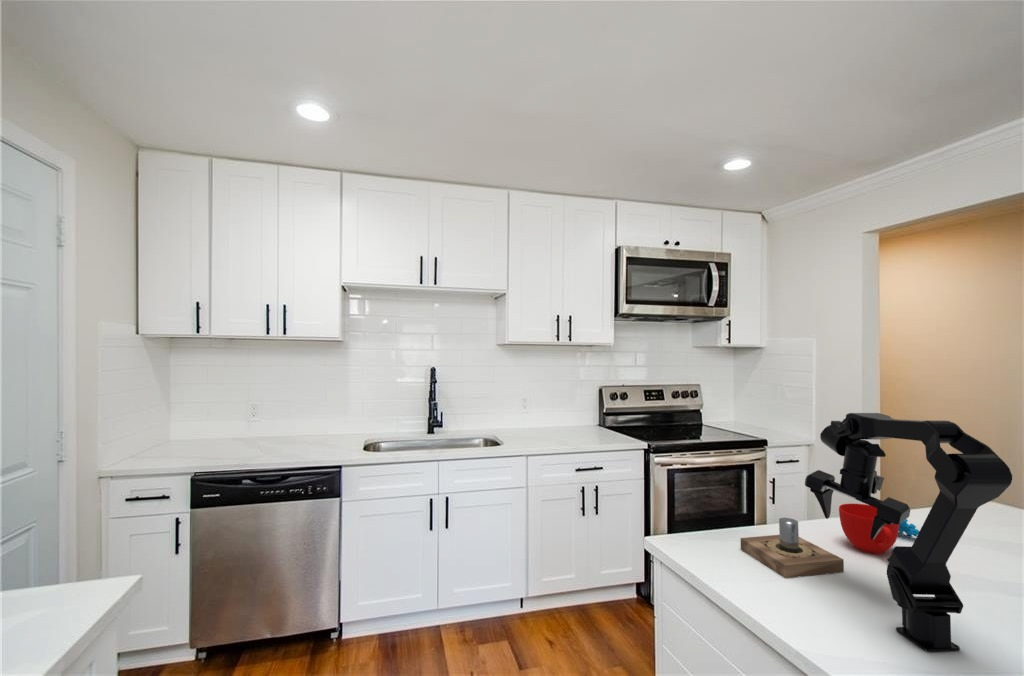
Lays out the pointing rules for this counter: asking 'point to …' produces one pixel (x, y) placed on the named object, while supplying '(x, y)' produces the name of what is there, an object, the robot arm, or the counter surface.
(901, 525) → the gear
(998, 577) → the counter surface
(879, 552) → the ceramic cup
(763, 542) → the bearing housing
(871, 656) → the counter surface
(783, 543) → the steel roller
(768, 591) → the counter surface
